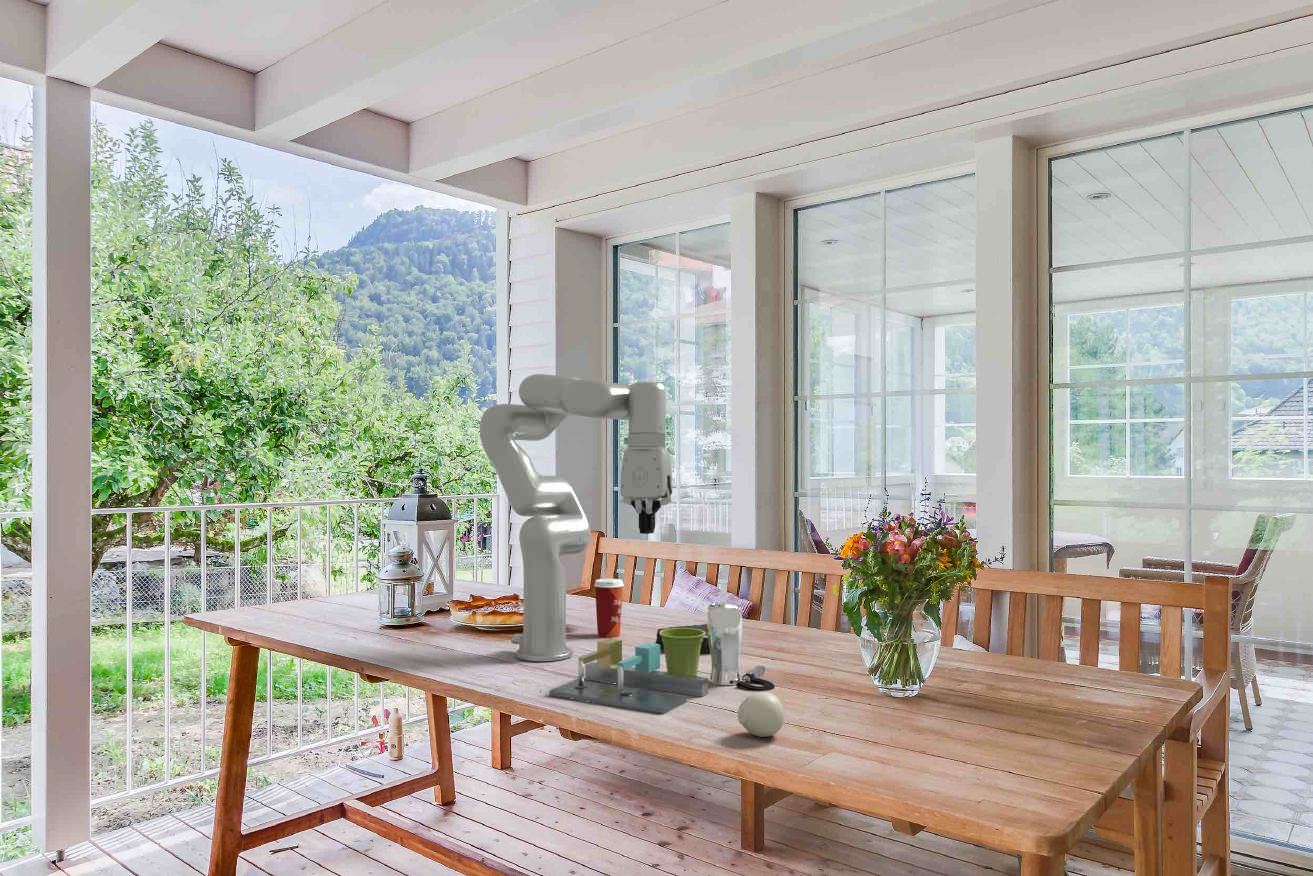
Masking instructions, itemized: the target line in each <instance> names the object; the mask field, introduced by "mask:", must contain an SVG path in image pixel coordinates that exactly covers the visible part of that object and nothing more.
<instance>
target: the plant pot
mask: <svg viewBox="0 0 1313 876" xmlns="http://www.w3.org/2000/svg"><path fill="white" fill-rule="evenodd" d="M659 634H660V636H661V637H662V642H663V645H664V648H663V651H664V658H665V663H666V672H669V673H677V674H684V675H691V676H698V671H699V663H700V662H699V661H700V649H701V643H702V641H703V636H704V635H705V632H704V631H703V630H699V629H692V628H672V629H666V630H662V631H660V632H659Z"/></svg>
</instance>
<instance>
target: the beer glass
mask: <svg viewBox="0 0 1313 876" xmlns="http://www.w3.org/2000/svg"><path fill="white" fill-rule="evenodd" d="M742 614H743V613H742V605H741V604H739V603H738V604H737V603H731V602H727V603H726V602H722V603H721V602H716V603H711V604H709V605H707V619H706V620H707V622H706V624H707V634H708V642H709V648H710V653H711V654H710V659H711V661H710V662H711V670H710V675H709V682H710V684H712V685H715V686H724V687H725V686H727V685H730V686H736V684H737V683H738V682H739V681H741V678H740V677H741V676H740V671H739V657H740V652H741V651H740V650H741V644H742V637H743V615H742ZM727 687H728V686H727Z"/></svg>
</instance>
